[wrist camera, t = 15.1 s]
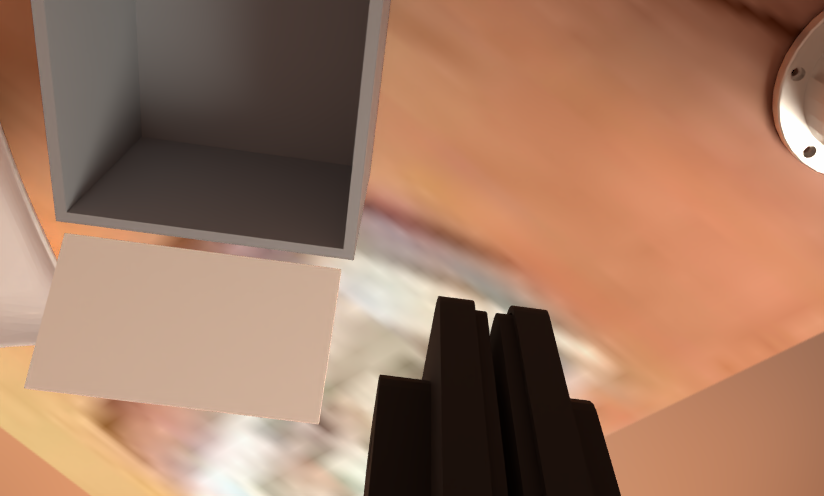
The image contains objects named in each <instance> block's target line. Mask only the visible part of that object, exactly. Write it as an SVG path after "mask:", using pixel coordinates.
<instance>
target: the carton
mask: <svg viewBox="0 0 824 496" xmlns="http://www.w3.org/2000/svg"><path fill="white" fill-rule="evenodd" d="M390 2H391V0H31V8H32V16H33V25H34V34H35V42H36V51H37V60H38V68H39V77H40V86H41V94H42V103H43V112H44V120H45V129H46V138H47V146H48V155H49V164H50V172H51V181H52V190H53V198H54V207H55V216H56V221H61V222H68V223H76V224H84V225H91V226H99V227H106V228H114V229H122V230H129V231H137V232H144V233H152V234H159V235H167V236H175V237H182V238H190V239H197V240H205V241H212V242H220V243H228V244H235V245H243V246H250V247H258V248H265V249H273V250H281V251H288V252H296V253H303V254H311V255H318V256H326V257H334V258H341V259H349V260H354V255H355V250H356V244H357V239H358V234H359V229H360V223H361V218H362V213H363V207H364V202H365V197H366V192H367V186H368V181H369V176H370V169H371V161H372V153H373V144H374V136H375V128H376V119H377V111H378V102H379V94H380V86H381V77H382V69H383V61H384V52H385V44H386V36H387V27H388V19H389V11H390Z"/></svg>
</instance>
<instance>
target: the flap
mask: <svg viewBox="0 0 824 496" xmlns="http://www.w3.org/2000/svg"><path fill="white" fill-rule="evenodd" d="M340 276H341V269H335V268H327V267H320V266H312V265H305V264H297V263H289V262H282V261H274V260H267V259H259V258H251V257H244V256H236V255H228V254H221V253H213V252H206V251H198V250H190V249H183V248H175V247H168V246H160V245H152V244H145V243H137V242H129V241H122V240H114V239H107V238H99V237H91V236H84V235H76V234H69V233H65V234H64V237H63V241H62V245H61V249H60V253H59V256H58V260H57V264H56V268H55V272H54V275H53V279H52V283H51V287H50V291H49V294H48V298H47V302H46V306H45V310H44V313H43V317H42V321H41V325H40V329H39V332H38V336H37V340H36V344H35V348H34V351H33V355H32V359H31V363H30V367H29V370H28V374H27V378H26V382H25V386H24V388H26V389H33V390H41V391H49V392H57V393H66V394H74V395H82V396H90V397H98V398H107V399H115V400H123V401H131V402H140V403H148V404H156V405H164V406H173V407H181V408H189V409H197V410H206V411H214V412H222V413H230V414H239V415H247V416H255V417H263V418H272V419H280V420H288V421H296V422H305V423H313V424H319V419H320V412H321V405H322V399H323V392H324V385H325V378H326V371H327V365H328V358H329V351H330V344H331V337H332V331H333V324H334V317H335V310H336V303H337V297H338V290H339V283H340Z"/></svg>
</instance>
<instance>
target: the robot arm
mask: <svg viewBox="0 0 824 496" xmlns="http://www.w3.org/2000/svg"><path fill="white" fill-rule="evenodd" d="M794 69H795V72H794V73H792V74H791V72H792V71H793V70H794ZM772 111H773V116H774V122H775V127H776V129H777V132H778V134H779V136H780V139H781V141H782V142H783V143H784V145H785V146H786V147H787V149H788V150H789V151H790V153H791V154H792V155H793V156H795V157H796V158H797V159H798V160H799V161H800V162H801V163H803V164H804V165H806V166H808V167H809V168H811V169H812V170H814V171H816V172H818V173H821V174H824V10H823V11H822V12H821V13H820V14H819V15H817V16H816V17H815V18H814V19H813V20H812V21H811V22H810V23H809V24H808V25H807V26H806V28H805V29H804V30H803V31H802V32H801V33H800V34H799V35H798V37H797V38H796V40H795V41H794V43H793V44H792V46H791V47H790V49H789V50H788V52H787V54H786V55H785V58H784V60H783V62H782V64H781V67H780V69H779V71H778V74H777V78H776V82H775V86H774V90H773V106H772ZM806 147H807V148H806ZM805 148H806V149H805ZM364 496H621V494H620V491H619V487H618V484H617V480H616V477H615V474H614V470H613V466H612V463H611V459H610V456H609V453H608V449H607V446H606V442H605V439H604V435H603V432H602V428H601V425H600V422H599V418H598V415H597V411H596V409H595V407H594V404H593V403H591V402H590V401H587V400H579V399H571V398H570V397H569V393H568V389H567V385H566V381H565V377H564V373H563V369H562V365H561V361H560V357H559V353H558V349H557V345H556V341H555V337H554V333H553V329H552V325H551V321H550V317H549V314H548V311H546V310H542V309H534V308H527V307H519V306H511V307H510V308H509V310H508V312H507V314H500V313H496V315H495V317H494V320H493V324H492V329H491V333H490V334H489V325H488V317H487V312H485V311H477V310H475V303H474V301H473V300H465V299H458V298H450V297H442V296H439V297H438V299H437V302H436V307H435V312H434V318H433V323H432V329H431V334H430V339H429V345H428V350H427V355H426V361H425V366H424V372H423V377H422V380H419V379H411V378H403V377H395V376H387V375H380V376H379V381H378V387H377V394H376V400H375V407H374V414H373V421H372V428H371V436H370V444H369V452H368V460H367V469H366V479H365V488H364Z"/></svg>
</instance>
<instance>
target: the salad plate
mask: <svg viewBox="0 0 824 496" xmlns="http://www.w3.org/2000/svg"><path fill="white" fill-rule="evenodd" d="M56 264H57V258H56V256H55V254H54V252H53V250H52V248H51V245H50V243H49V241H48V239H47V237H46V235H45V232H44V230H43V228H42V226H41V223H40V221H39V219H38V217H37V214H36V212H35V210H34V208H33V205H32V203H31V201H30V198H29V196H28V194H27V191H26V189H25V187H24V184H23V182H22V179H21V177H20V174H19V171H18V169H17V166H16V164H15V161H14V158H13V156H12V153H11V150H10V148H9V145H8V142H7V139H6V137H5V134H4V131H3V128H2V126H1V123H0V348H1V347H13V346H29V345H35V344H36V340H37V336H38V332H39V329H40V325H41V321H42V317H43V313H44V310H45V306H46V302H47V298H48V294H49V291H50V287H51V283H52V279H53V275H54V272H55V268H56Z"/></svg>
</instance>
